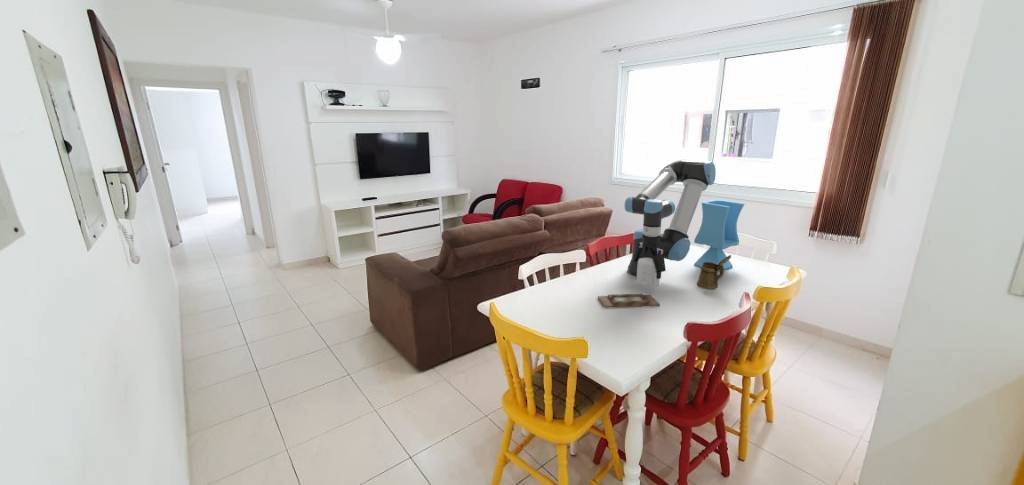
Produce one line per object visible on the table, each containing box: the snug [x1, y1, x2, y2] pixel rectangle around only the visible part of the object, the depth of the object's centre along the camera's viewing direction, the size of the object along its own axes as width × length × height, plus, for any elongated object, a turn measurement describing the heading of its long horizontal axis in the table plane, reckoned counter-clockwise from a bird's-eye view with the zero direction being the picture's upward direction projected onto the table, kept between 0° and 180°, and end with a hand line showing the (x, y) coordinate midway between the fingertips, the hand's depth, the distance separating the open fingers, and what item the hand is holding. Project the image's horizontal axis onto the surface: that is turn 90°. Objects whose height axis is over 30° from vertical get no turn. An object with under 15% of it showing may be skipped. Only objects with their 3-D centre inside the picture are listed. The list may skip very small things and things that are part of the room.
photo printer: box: [635, 258, 659, 287], centre depth 185 cm, size 10×4×12 cm, turn 60°
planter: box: [693, 199, 745, 273], centre depth 214 cm, size 16×16×35 cm
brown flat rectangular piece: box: [597, 293, 661, 308], centre depth 175 cm, size 24×10×3 cm, turn 93°
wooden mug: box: [696, 254, 732, 291], centre depth 188 cm, size 9×14×18 cm, turn 35°
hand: (647, 280), depth 186 cm, fingers closed on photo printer, 10 cm apart
